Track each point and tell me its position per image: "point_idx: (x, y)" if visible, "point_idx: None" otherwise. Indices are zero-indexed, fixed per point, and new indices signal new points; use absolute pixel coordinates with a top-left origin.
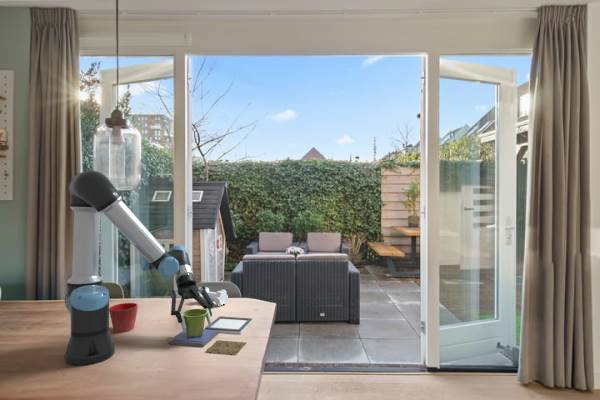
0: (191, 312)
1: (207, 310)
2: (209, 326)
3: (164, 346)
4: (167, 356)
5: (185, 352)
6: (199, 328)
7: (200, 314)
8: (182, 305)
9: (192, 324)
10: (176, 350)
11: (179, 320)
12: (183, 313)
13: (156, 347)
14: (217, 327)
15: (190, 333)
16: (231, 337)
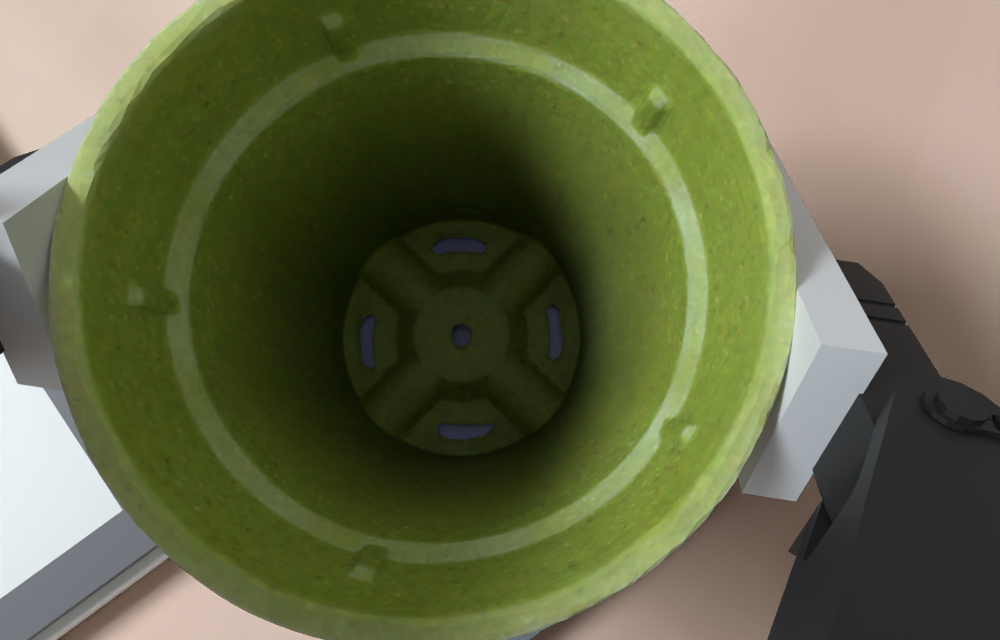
0: (385, 578)
1: (42, 178)
2: (95, 532)
3: None
4: (971, 38)
5: (761, 4)
6: (448, 157)
7: (215, 407)
8: (842, 589)
9: (582, 150)
10: (823, 128)
11: (861, 277)
12: (724, 437)
13: (994, 391)
14: (12, 449)
15: (574, 256)
16: (88, 43)
